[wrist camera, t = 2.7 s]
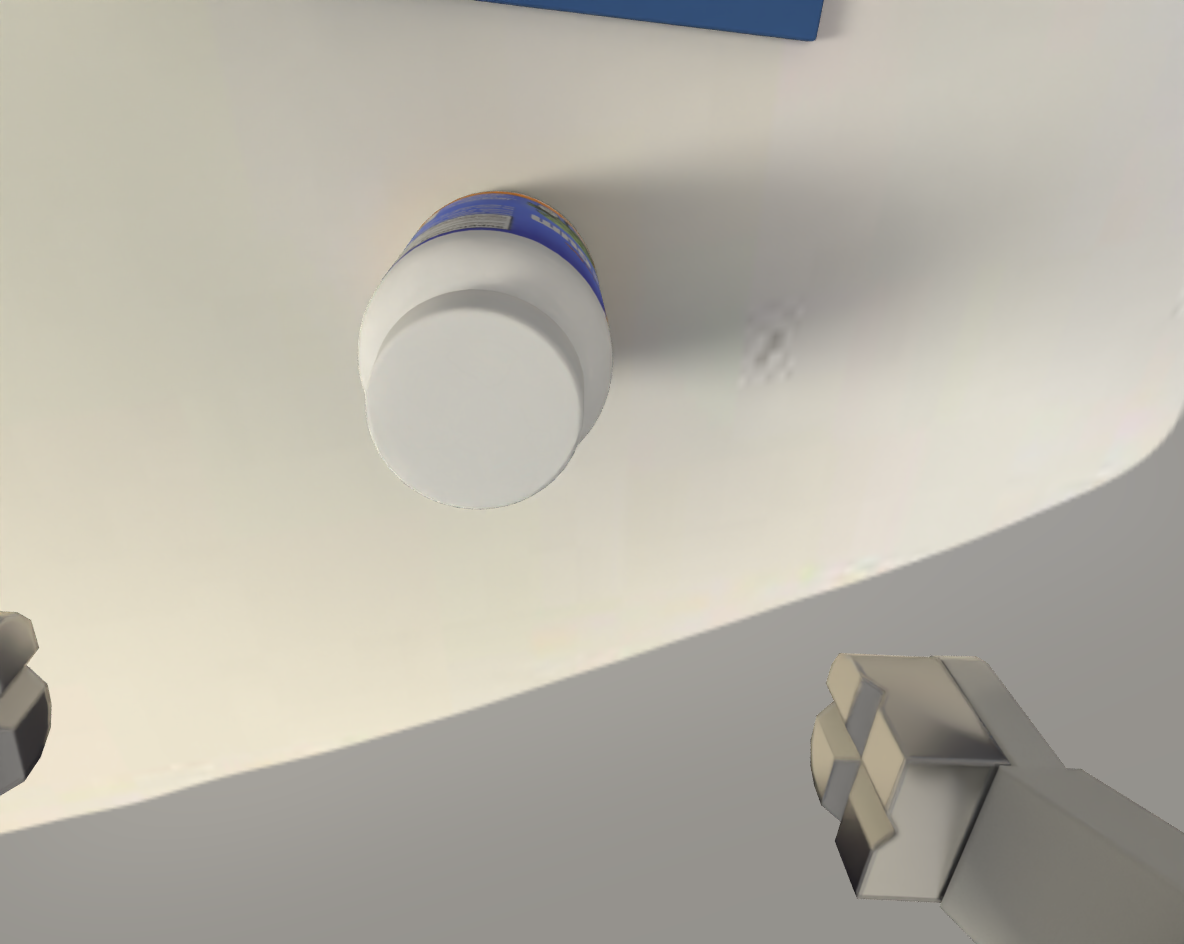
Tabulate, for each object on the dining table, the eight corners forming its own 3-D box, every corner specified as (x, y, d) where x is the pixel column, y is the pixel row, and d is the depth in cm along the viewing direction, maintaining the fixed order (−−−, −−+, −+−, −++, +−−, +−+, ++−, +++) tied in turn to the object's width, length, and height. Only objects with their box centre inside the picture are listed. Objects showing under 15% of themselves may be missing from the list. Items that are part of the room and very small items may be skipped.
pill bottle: (622, 337, 25) (668, 489, 16) (454, 401, 25) (411, 582, 17) (553, 153, 22) (563, 216, 14) (369, 229, 23) (268, 336, 14)
